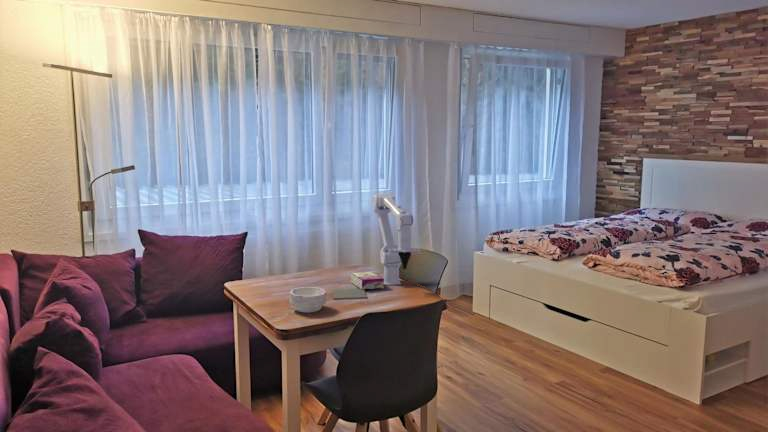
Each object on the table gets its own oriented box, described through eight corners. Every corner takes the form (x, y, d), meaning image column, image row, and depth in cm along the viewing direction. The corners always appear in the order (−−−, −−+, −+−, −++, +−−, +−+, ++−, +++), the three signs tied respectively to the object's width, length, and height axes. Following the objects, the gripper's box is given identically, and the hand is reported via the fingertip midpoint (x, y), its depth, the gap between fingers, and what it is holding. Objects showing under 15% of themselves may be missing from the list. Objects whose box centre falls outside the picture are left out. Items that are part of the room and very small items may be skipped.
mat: (332, 290, 275) (332, 289, 275) (363, 289, 277) (363, 288, 276) (333, 299, 261) (333, 298, 261) (366, 298, 263) (366, 297, 263)
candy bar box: (384, 289, 278) (371, 281, 293) (384, 278, 277) (372, 271, 292) (361, 290, 274) (350, 282, 289) (361, 279, 273) (350, 272, 288)
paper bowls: (334, 309, 247) (334, 291, 246) (304, 317, 236) (304, 298, 235) (311, 301, 258) (311, 284, 256) (282, 309, 247) (282, 290, 246)
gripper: (390, 241, 267) (390, 271, 269) (421, 240, 269) (421, 269, 271) (387, 238, 274) (388, 267, 276) (418, 237, 276) (418, 266, 278)
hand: (404, 268), depth 274 cm, fingers closed
